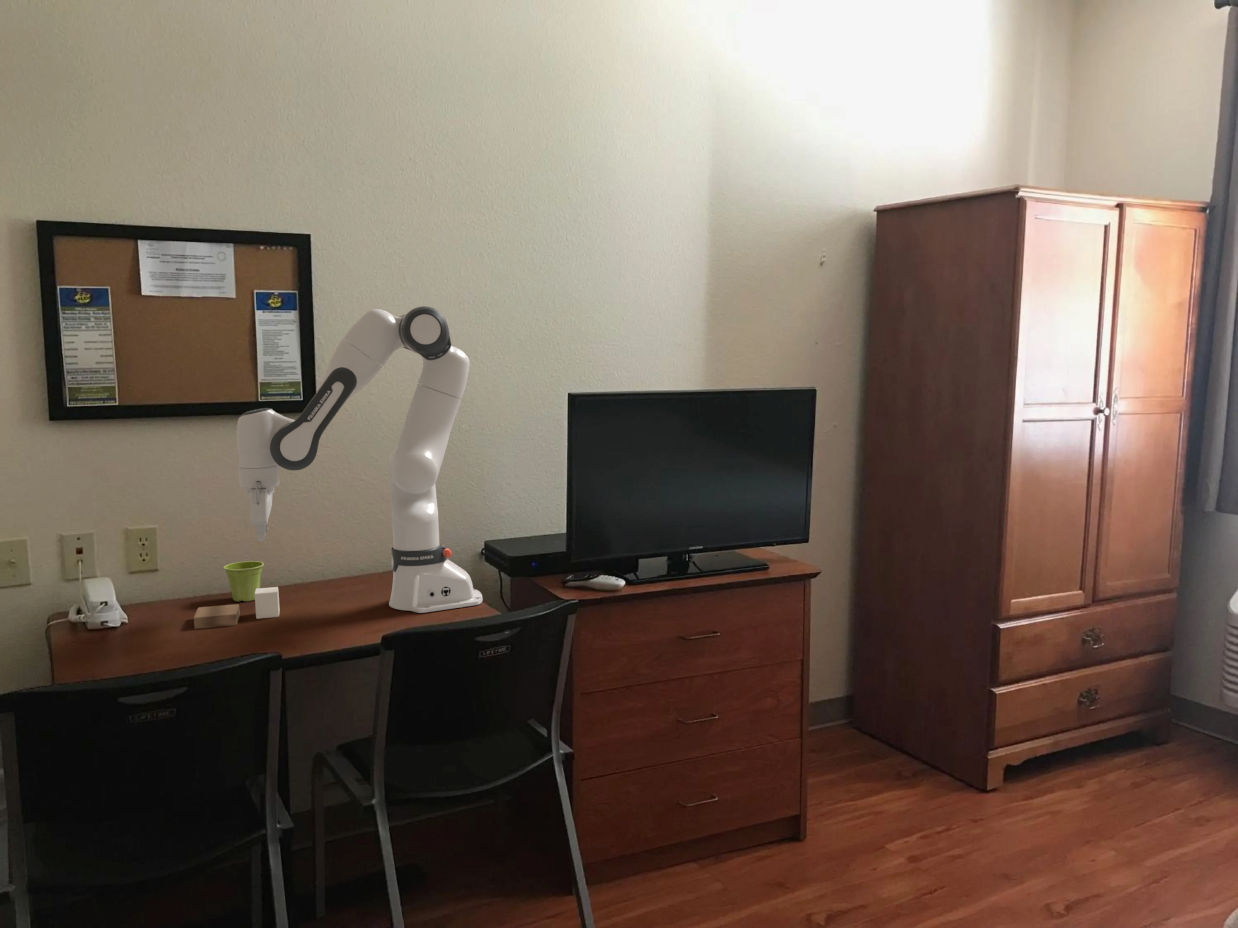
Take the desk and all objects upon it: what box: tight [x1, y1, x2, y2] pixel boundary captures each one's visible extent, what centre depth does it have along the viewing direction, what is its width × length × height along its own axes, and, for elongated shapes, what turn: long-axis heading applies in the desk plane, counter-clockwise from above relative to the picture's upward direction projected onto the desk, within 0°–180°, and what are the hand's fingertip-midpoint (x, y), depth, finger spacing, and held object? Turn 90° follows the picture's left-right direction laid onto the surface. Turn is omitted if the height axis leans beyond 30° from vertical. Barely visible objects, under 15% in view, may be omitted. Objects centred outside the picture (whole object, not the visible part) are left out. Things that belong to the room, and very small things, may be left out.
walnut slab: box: [193, 603, 240, 630], centre depth 235 cm, size 9×9×3 cm
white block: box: [254, 586, 280, 619], centre depth 240 cm, size 5×5×6 cm
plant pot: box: [223, 560, 265, 603], centre depth 254 cm, size 9×9×9 cm
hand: (262, 536), depth 238 cm, fingers open, 8 cm apart
